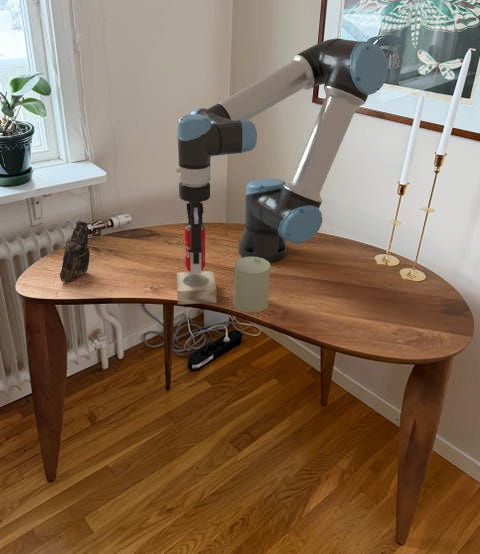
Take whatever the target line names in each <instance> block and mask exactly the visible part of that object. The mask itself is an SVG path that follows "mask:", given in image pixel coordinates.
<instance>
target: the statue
mask: <svg viewBox="0 0 480 554" xmlns="http://www.w3.org/2000/svg"><path fill="white" fill-rule="evenodd" d="M75 224H76V225H75V227H74V228H73V231H72V234H71V237H70V242H71V244H70V245H67V246H66V247H65V250H64V254H63V257H62V264H61V270H60V273H59V279H60V280H61V282H62V283H68V282H72V281H74V280H76V279H78V278H80V277H82V276H83V275H85V274H86V273H87V272H88V268H89V264H90V257H91V256H90V255H91V254H90V253H91V252H90V248H89V247H88V243H89V231H88V225H87V224H88V223H87V221H83V220H82V221H81V220H77V221H76V223H75Z"/></svg>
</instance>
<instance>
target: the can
mask: <svg viewBox="0 0 480 554" xmlns="http://www.w3.org/2000/svg"><path fill="white" fill-rule="evenodd" d="M270 274H271V262H268V261H267V260H265V259H263V258H259V257H241V258H238V259H237V260H236V261H235V262H234V290H233V291H234V293H233V306H234V308H235V309H237V311H240V312H244V313H247V314H248V313H249V314H256V313H260V312H264V311H265V310H266V309H267V308H268V307H269V293H270V292H269V288H270V276H271V275H270Z"/></svg>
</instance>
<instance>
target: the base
mask: <svg viewBox="0 0 480 554" xmlns="http://www.w3.org/2000/svg"><path fill="white" fill-rule="evenodd" d="M176 290H177V305H193V304H194V305H195V304H197V305H198V304H216V303H217V285H216V279H215V273H214V271H208V270H207V271H201V274H191V272H189V271H182V272H180V271H179V272H178V271H177V272H176Z"/></svg>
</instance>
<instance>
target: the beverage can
mask: <svg viewBox="0 0 480 554" xmlns="http://www.w3.org/2000/svg"><path fill="white" fill-rule="evenodd" d="M188 249H191V225H189V223H187V224H185V227H184V265H185V268H186V271H187V272H191V259H190V252H188ZM201 249H202V252H201V272H204V268H205V266H206V229H205V225H204V223H202V225H201Z"/></svg>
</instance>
